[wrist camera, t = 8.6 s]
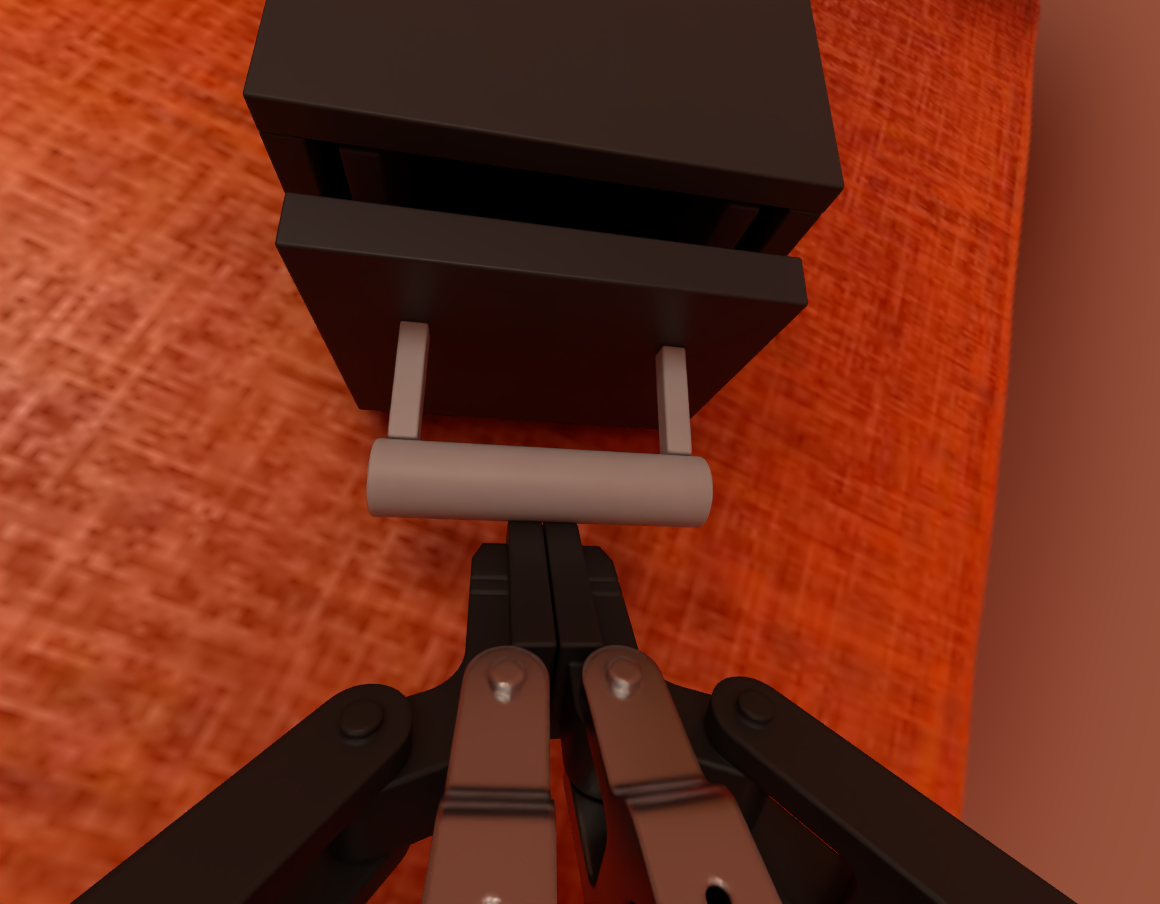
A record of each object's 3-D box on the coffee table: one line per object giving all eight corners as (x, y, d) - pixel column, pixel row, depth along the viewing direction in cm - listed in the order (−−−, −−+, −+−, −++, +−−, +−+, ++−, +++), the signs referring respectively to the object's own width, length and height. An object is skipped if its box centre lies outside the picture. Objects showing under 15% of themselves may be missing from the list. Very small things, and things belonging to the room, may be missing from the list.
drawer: (686, 558, 17) (839, 506, 10) (339, 550, 16) (224, 480, 8) (661, 146, 23) (751, -84, 15) (398, 104, 21) (359, -180, 14)
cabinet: (682, 381, 20) (846, 188, 11) (353, 354, 18) (240, 94, 9) (664, 105, 25) (774, -196, 16) (394, 58, 23) (344, -318, 14)
